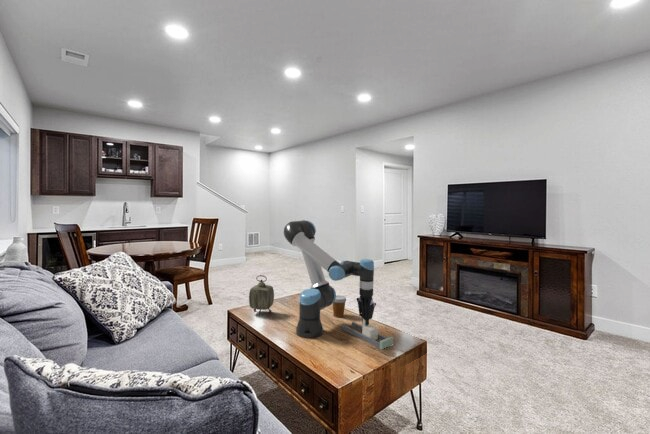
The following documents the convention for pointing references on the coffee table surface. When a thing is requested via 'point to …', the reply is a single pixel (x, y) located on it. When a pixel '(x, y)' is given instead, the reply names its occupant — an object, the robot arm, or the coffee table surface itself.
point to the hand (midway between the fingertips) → (365, 330)
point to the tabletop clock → (261, 296)
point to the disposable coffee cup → (339, 306)
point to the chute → (383, 343)
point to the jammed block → (370, 332)
